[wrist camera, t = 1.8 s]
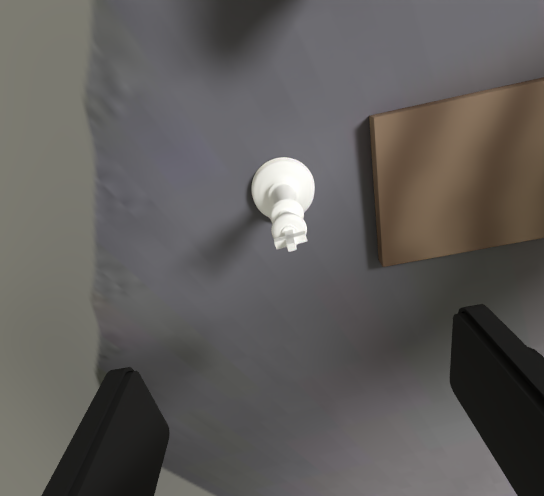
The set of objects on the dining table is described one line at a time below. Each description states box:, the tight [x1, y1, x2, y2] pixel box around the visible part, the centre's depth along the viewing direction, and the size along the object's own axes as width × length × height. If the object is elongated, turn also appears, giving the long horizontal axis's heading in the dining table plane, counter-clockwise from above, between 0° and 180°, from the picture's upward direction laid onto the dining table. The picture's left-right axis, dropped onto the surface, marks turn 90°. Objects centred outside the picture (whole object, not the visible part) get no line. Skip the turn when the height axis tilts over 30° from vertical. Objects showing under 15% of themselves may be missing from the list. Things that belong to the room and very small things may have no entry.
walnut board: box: [369, 77, 544, 267], centre depth 25 cm, size 18×12×1 cm, turn 102°
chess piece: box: [251, 157, 315, 252], centre depth 21 cm, size 5×5×10 cm
